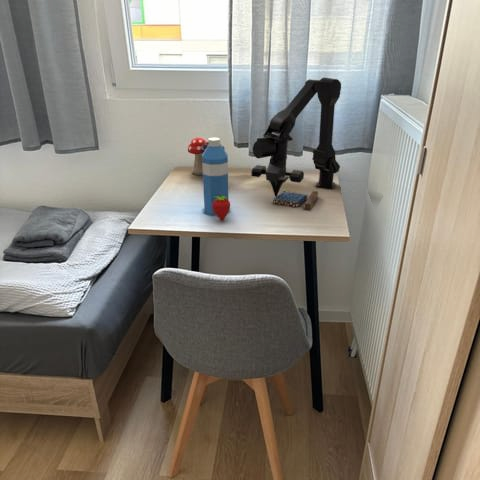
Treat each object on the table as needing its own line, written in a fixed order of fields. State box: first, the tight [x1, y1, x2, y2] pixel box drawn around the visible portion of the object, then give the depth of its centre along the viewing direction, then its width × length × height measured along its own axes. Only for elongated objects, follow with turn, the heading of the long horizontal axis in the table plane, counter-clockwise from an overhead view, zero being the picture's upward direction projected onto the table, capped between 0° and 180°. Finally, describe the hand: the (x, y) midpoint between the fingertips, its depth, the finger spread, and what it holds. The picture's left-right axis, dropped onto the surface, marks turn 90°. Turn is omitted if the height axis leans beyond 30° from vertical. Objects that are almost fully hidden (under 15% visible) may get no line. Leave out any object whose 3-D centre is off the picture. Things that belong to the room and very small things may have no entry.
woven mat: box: [272, 190, 309, 208], centre depth 183 cm, size 10×11×2 cm
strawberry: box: [212, 192, 231, 222], centre depth 166 cm, size 6×8×10 cm
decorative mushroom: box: [187, 137, 207, 176], centre depth 209 cm, size 10×9×15 cm
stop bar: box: [303, 190, 319, 211], centre depth 181 cm, size 14×2×2 cm, turn 161°
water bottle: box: [202, 137, 230, 216], centre depth 169 cm, size 9×9×25 cm
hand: (276, 196), depth 184 cm, fingers closed
